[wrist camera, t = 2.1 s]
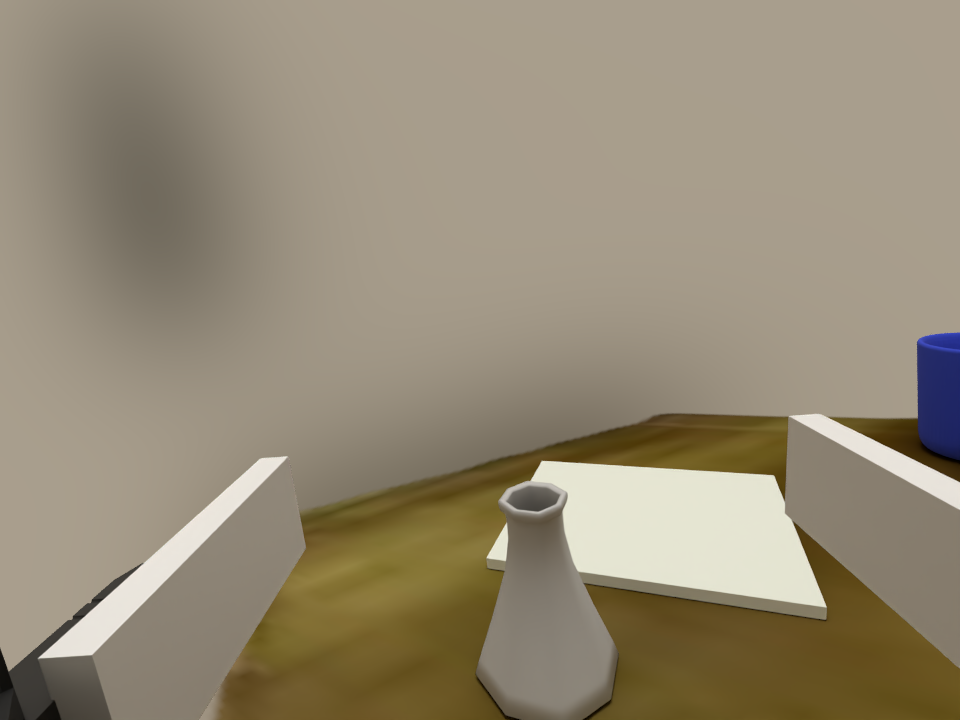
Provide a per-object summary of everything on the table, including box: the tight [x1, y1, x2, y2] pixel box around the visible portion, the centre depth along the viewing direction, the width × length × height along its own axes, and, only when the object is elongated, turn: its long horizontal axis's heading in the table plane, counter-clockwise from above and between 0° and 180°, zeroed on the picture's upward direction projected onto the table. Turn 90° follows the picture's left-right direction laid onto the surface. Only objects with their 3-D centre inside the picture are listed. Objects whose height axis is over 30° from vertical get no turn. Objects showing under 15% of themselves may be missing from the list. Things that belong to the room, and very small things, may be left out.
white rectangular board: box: [487, 461, 827, 620], centre depth 38 cm, size 20×16×1 cm
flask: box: [476, 481, 619, 720], centre depth 25 cm, size 7×7×10 cm
